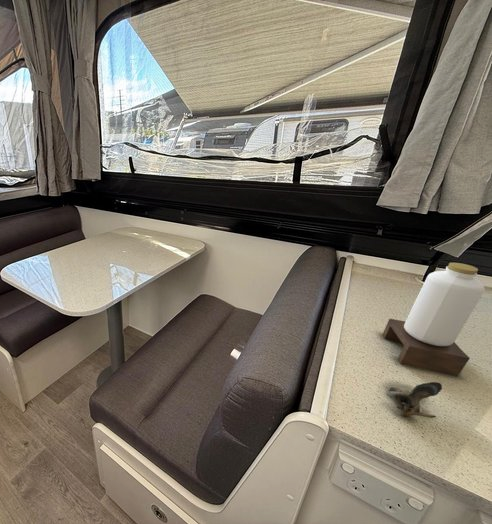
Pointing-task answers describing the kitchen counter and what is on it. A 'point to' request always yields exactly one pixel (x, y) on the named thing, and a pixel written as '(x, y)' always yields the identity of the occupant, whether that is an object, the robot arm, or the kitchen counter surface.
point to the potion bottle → (444, 305)
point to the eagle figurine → (415, 398)
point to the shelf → (425, 351)
